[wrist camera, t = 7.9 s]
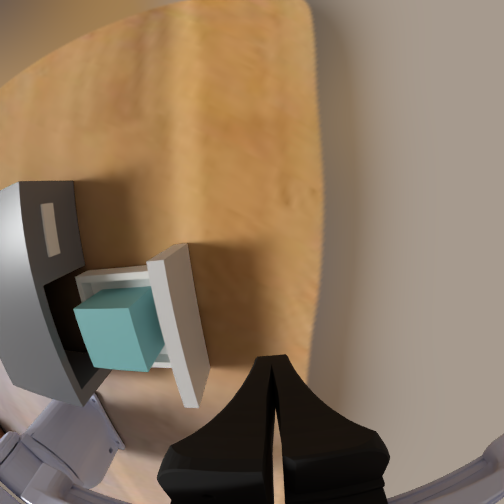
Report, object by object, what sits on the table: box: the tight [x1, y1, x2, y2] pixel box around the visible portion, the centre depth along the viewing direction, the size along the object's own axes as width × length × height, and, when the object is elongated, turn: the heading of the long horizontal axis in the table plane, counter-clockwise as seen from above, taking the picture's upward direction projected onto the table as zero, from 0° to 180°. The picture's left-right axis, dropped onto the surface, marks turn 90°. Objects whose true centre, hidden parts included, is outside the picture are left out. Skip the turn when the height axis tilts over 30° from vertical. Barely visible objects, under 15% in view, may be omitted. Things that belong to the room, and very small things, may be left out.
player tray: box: [75, 243, 210, 408], centre depth 17 cm, size 10×9×5 cm
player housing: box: [0, 181, 112, 407], centre depth 17 cm, size 16×10×6 cm, turn 6°
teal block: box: [73, 286, 165, 372], centre depth 17 cm, size 4×4×4 cm
